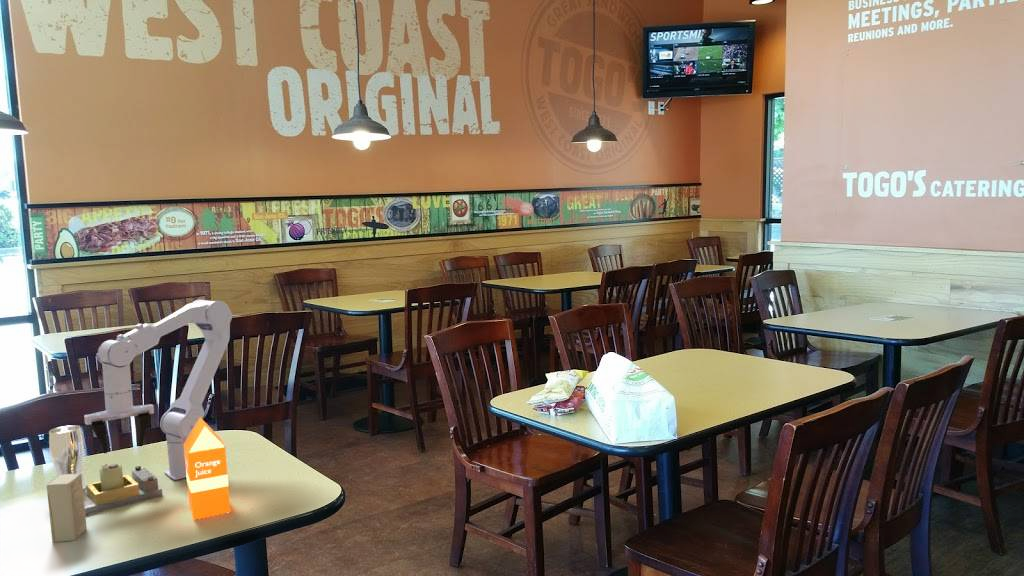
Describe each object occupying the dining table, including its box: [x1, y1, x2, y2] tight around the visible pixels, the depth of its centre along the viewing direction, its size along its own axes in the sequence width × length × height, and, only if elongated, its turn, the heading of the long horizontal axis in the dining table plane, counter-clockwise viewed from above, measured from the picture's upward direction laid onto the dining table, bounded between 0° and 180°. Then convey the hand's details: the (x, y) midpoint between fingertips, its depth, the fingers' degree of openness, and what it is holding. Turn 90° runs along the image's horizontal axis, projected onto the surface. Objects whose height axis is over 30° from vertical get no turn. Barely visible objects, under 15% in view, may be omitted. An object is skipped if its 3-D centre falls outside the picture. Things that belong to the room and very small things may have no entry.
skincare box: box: [46, 473, 87, 543], centre depth 163 cm, size 6×4×12 cm
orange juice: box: [184, 417, 231, 521], centre depth 174 cm, size 8×9×20 cm
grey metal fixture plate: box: [83, 465, 163, 516], centre depth 183 cm, size 18×12×5 cm, turn 130°
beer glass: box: [48, 425, 86, 491], centre depth 190 cm, size 7×7×15 cm
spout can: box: [99, 463, 124, 492], centre depth 183 cm, size 5×5×7 cm
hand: (122, 448), depth 187 cm, fingers open, 7 cm apart
